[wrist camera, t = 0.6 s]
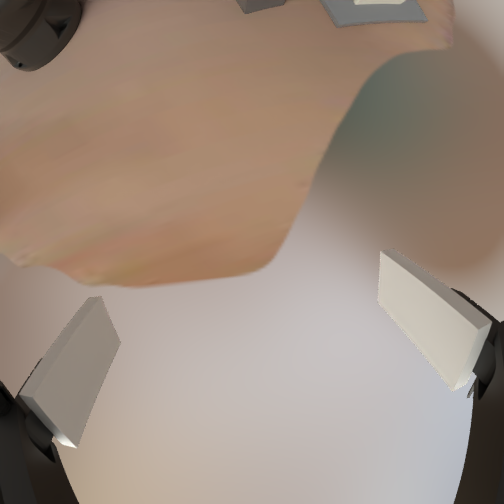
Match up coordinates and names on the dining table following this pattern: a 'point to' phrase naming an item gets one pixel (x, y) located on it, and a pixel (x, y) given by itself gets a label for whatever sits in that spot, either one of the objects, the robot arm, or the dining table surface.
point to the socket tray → (373, 11)
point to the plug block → (258, 5)
